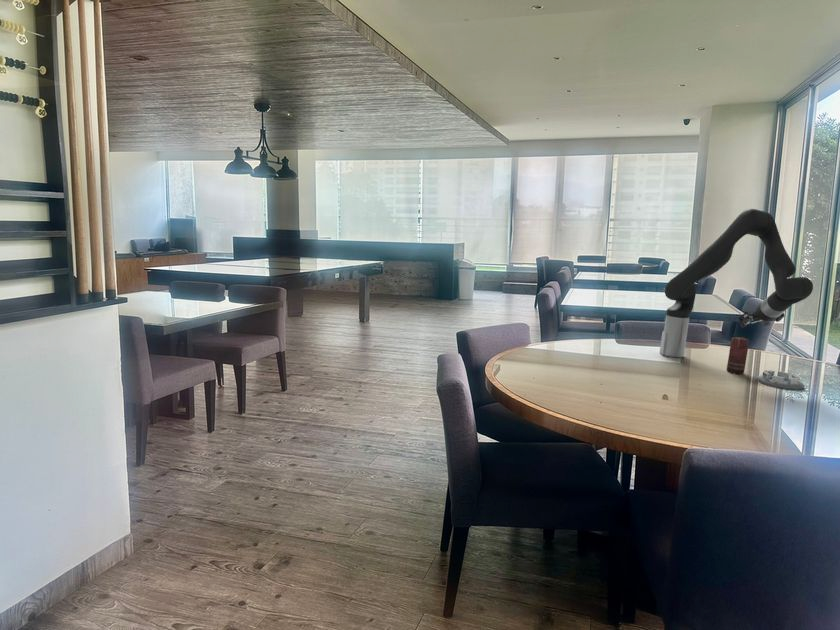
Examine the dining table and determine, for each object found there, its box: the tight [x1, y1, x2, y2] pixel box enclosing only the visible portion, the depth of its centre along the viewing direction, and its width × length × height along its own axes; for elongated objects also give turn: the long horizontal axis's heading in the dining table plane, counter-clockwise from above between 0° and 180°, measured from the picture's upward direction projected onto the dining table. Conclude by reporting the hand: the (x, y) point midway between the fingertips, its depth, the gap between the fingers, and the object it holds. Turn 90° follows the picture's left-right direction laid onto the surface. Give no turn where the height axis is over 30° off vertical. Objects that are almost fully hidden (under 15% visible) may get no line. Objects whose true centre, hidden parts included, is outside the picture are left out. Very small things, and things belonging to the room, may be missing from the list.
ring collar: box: [762, 369, 801, 386], centre depth 213 cm, size 11×11×2 cm
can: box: [726, 336, 750, 375], centre depth 225 cm, size 6×6×14 cm
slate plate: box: [756, 374, 805, 391], centre depth 213 cm, size 15×15×1 cm
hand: (753, 324), depth 223 cm, fingers open, 8 cm apart
